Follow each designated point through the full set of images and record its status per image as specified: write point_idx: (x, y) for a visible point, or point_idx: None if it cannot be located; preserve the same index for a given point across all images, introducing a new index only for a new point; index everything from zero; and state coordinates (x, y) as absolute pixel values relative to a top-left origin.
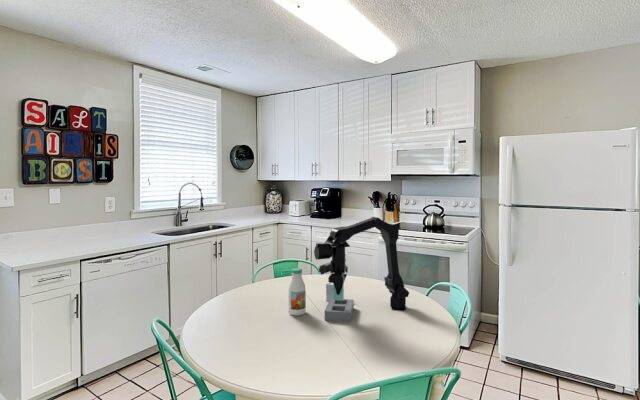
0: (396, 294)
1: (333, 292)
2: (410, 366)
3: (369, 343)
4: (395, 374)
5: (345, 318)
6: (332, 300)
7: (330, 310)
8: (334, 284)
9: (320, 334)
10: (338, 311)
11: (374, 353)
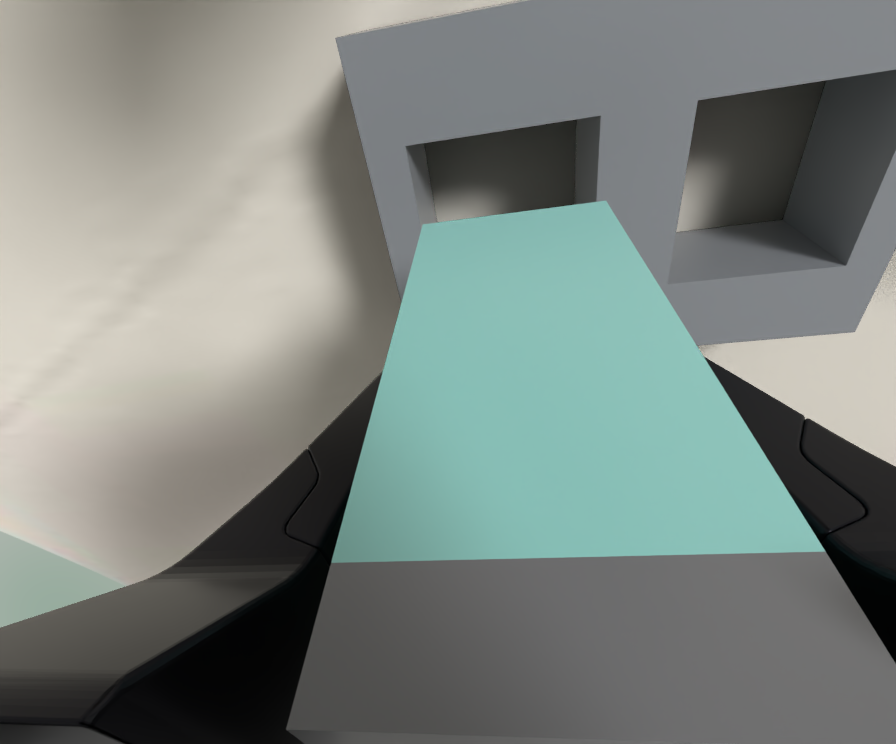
0: None
1: (404, 300)
2: (119, 567)
3: (179, 457)
4: (24, 539)
5: None
6: (889, 11)
7: (395, 134)
8: (201, 553)
9: (21, 122)
10: (401, 251)
11: (102, 482)
